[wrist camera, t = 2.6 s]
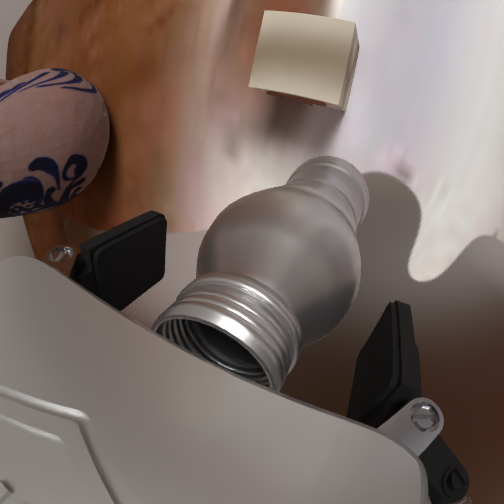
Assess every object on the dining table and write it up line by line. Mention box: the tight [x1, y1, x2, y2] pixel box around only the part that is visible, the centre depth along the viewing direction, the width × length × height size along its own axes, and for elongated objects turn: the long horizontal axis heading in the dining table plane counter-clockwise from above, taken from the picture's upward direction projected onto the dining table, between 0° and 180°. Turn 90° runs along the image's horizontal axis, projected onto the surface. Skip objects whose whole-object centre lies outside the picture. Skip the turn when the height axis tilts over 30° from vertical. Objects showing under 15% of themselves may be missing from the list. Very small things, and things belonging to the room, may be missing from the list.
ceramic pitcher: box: [0, 68, 110, 218], centre depth 20 cm, size 18×21×25 cm
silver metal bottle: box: [151, 156, 369, 392], centre depth 15 cm, size 6×7×20 cm
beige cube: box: [249, 11, 359, 112], centre depth 17 cm, size 6×6×6 cm
